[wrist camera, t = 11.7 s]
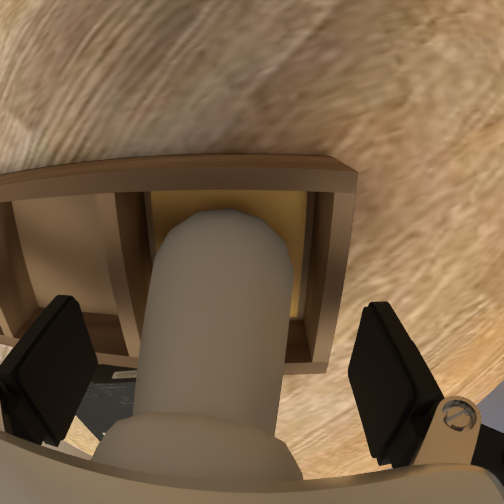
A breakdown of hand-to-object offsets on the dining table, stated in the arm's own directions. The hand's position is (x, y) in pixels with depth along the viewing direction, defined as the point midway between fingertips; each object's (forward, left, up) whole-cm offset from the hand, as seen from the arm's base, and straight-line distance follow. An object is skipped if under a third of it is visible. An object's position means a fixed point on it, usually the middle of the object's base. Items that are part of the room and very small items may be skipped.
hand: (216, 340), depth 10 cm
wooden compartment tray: (0, -9, -7) cm, 11 cm away
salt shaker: (0, 0, -6) cm, 7 cm away
